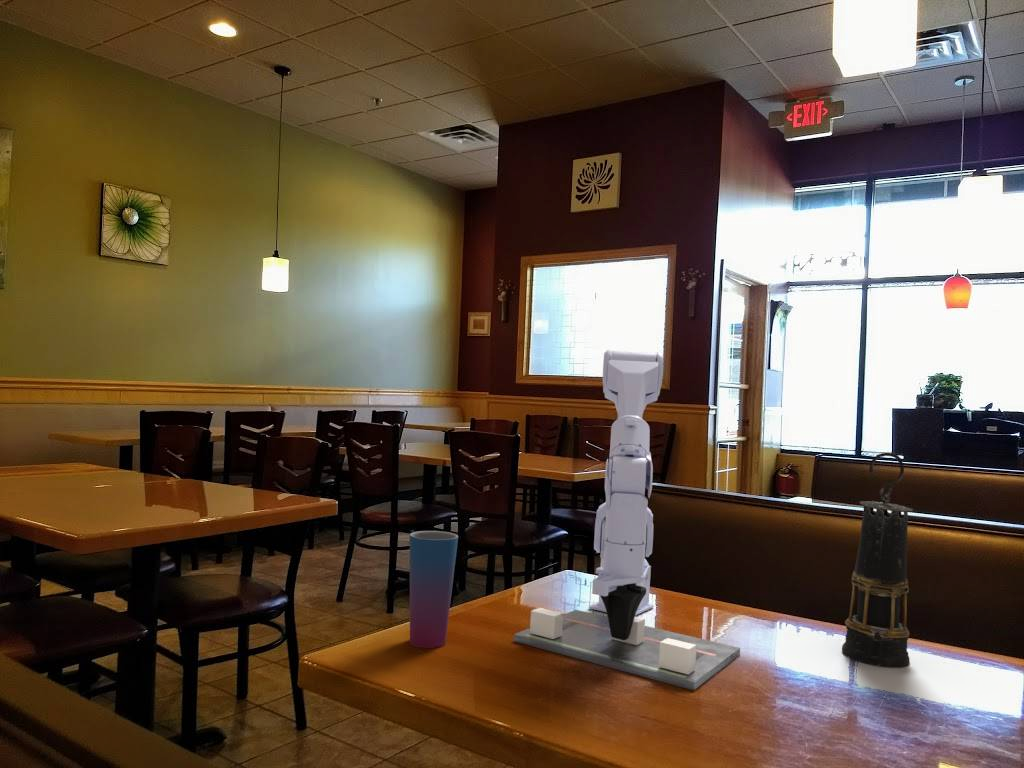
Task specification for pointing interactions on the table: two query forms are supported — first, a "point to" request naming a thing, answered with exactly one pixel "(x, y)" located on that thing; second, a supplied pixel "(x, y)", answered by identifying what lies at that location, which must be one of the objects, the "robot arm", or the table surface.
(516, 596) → the table surface
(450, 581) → the cup
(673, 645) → the block
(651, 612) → the table surface
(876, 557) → the lantern
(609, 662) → the panel
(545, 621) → the breaker
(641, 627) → the breaker mid
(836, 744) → the table surface
